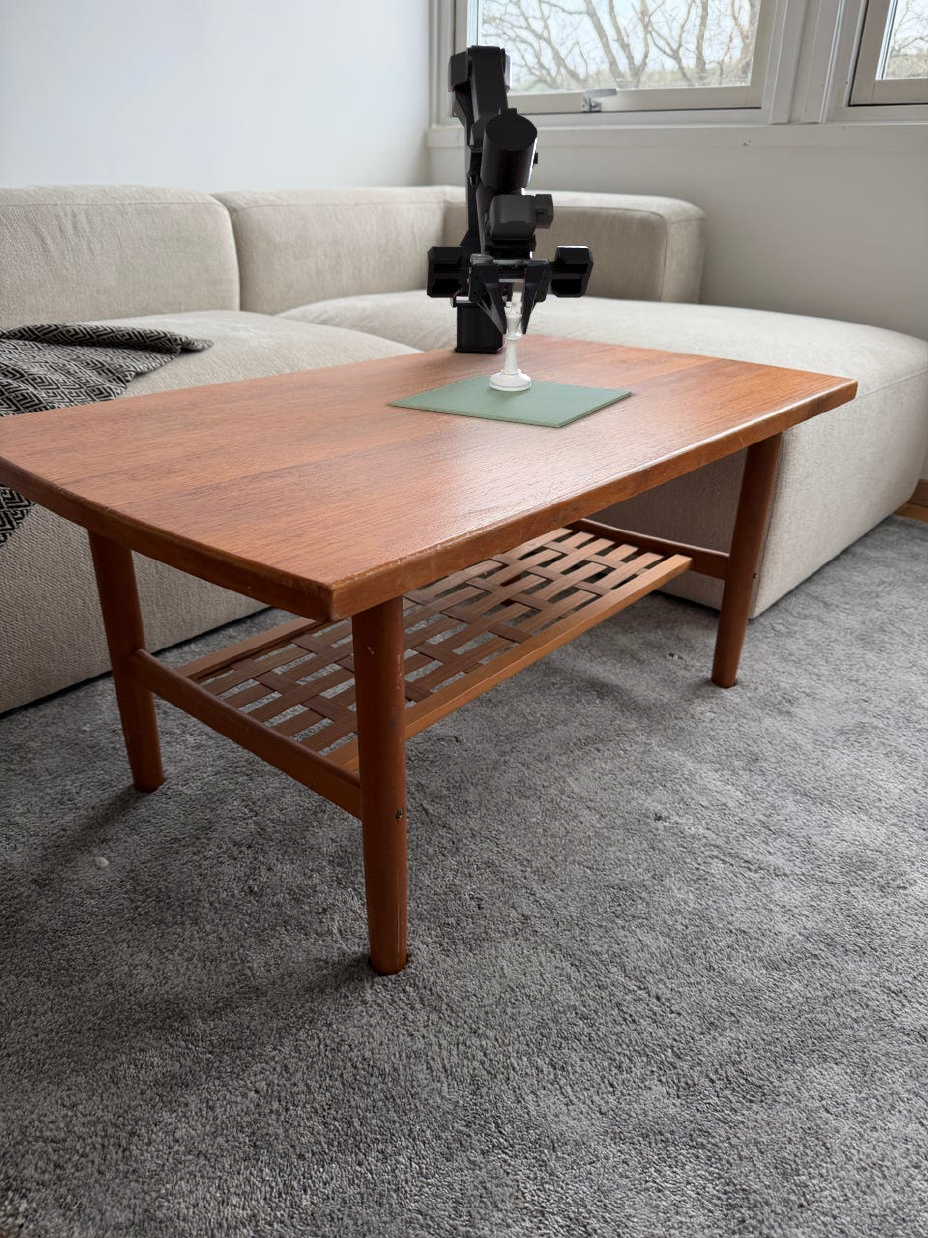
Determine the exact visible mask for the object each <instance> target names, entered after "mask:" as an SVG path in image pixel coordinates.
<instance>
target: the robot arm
mask: <svg viewBox="0 0 928 1238" xmlns="http://www.w3.org/2000/svg"><path fill="white" fill-rule="evenodd" d="M512 61H513V60H512V57H511V56H510V55H509V54H506V48H505V47H501V46H500V45H487V44H486V45H484V44H483V45H480V44H472V45H471V46H470V47H466V48H465V50H464V51H461V52H458V53H455V54H453V55H450V56H449V60H448V63H447V92H448V93H451V96H452V98H451V99H452V101H451V102H452V111H453V113H454V114H455V116H456V117H457V119H458V120H459V123H460V124H461V125H462V127H463V138H464V139H463V141H464V142H463V143H464V190H465V191H464V192H465V193H464V194H465V197H464V198H465V234H464V235H463V238H462V240H461V241H460V244H459V245H449V246H448V245H447V246H446V245H432V246H431V247H430V248H429V249H428V250H427V252H426V268H425V290H426V295H427V296H428V297H429V298H431V299H449V305H450V307H451V308H452V309H456V346H454V347H453V351H454V352H463V353H464V352H467V353H492V354H493V353H495V354H496V353H497V354H498V353H499V352H500V351H501V350H502V349H503V348H504V346H505V344H506V339H505V338H503V335H506V333H507V332H508V329H507V319H506V313H507V312H506V309H505V308H507V309H509V308H511V307H506V302H512V296H514V290H515V283H522V289H521V295H520V299H519V302H521V303H522V305H521V307H519V309H520V312H519V313H521V314H522V319H521V321H520V331H521V335H527V331H528V327H529V323H530V320H531V317H532V316H531V315H532V313H533V311H534V309H535V307H536V306H537V304H539V303H544V302H546V300H547V297H548V293H549V288H550V293H551V295H554V296H555V298H558V299H580V298H581V297H583V296H585V295H586V292H587V289H588V285H589V283H590V278H591V275H592V271H593V268H594V265H595V263H594V262H595V261H594V255H593V251H592V250H591V249H590V247H588V246H556V248H555V253H554V257H553V260H552V261H551V260H550V259H549V258H547V257H533V255H532V253H535V252H536V248H537V237H536V230H537V229H538V230H549V229H550V228H551V226H552V224H553V221H554V216H555V213H554V212H555V211H554V201H553V195H552V193H535V195H533V194H525V189H526V188H527V187H528V185H529V183H530V181H531V180H530V179H531V174H532V171H533V169H534V167H536V166H537V165H539V152H537V150H536V145H537V140H538V128H537V127H536V126H535V125H534V123H533V121H531V120H530V119H528V118H527V117H525V116H523V115H521V114H518V108H517V107H509V101H508V93H509V91H510V90H511V89H512ZM457 297H458V298H460V297H461V298H468V299H457Z"/></svg>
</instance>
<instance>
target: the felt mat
mask: <svg viewBox="0 0 928 1238" xmlns="http://www.w3.org/2000/svg"><path fill="white" fill-rule="evenodd" d="M491 376H492V375H485V374H484V375H483V374H479V375H476V376H473V377H469V378H465V379H462V380H459V381H455V382H453V383H449V384H446V385H442V386H439V387H436V388H433V389H429V390H426V391H423V392H419V393H416V394H412V395H410V396H409V395H408V396H405V397H403V398H399V399H396V400H393V401H391V402H390V406H392V407H399V408H407V409H415V410H422V411H429V412H438V413H446V414H453V415H459V416H468V417H474V418H475V417H476V418H483V419H488V420H489V419H490V420H497V421H505V422H513V423H519V424H528V425H535V426H544V427H550V428H551V427H552V428H561V427H563V426H565V425H568V424H570V423H572V422H574V421H577V420H579V419H582V418H584V417H585V416H587V415H589V414H592V413H594V412H596V411H598V410H601V409H603V408H605V407H608V406H609V405H611V404H614V403H616V402H618V401H621V400H623V399H624V398H627V397H629V396H631V395H632V391H631V390H624V389H615V388H605V387H597V386H586V385H577V384H569V383H568V384H567V383H559V382H550V381H540V380H532V379H530V380H531V382H530V383H531V387H530V388H528V389H526V390H522V391H501V390H497V389H494V388H492V387H490V386H489V382H490V377H491Z"/></svg>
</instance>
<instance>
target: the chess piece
mask: <svg viewBox="0 0 928 1238" xmlns="http://www.w3.org/2000/svg"><path fill="white" fill-rule="evenodd" d="M521 305H522V303H521V302H520V301H517V295H513V296H512V302H506V307H510V308H511V310H510V311H507V312H505V313H506V319H507V332H506V335H503V338H505V340H507V346H506V350H505V351H506V352H505V358H504V363H503V368H501V369H500V372H497V373H494V374H492V375H490V376H491V377H490V382H489V386H490V387H492V388H494V389H497V390H501V391H522V390H526V389H528V388H530V387H531V383H530V382H531V380H532V379H531V378H530V377H529V375H527V374H524V373H521V369H519V366H518V353H517V340H521V339H522V333H519V332H518V329H519V327H520V325H521V322H520V321H521V319H522V314H521V313H520V312H518V311H516V309H517V308H520V307H521ZM506 307H505V308H506Z"/></svg>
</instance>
